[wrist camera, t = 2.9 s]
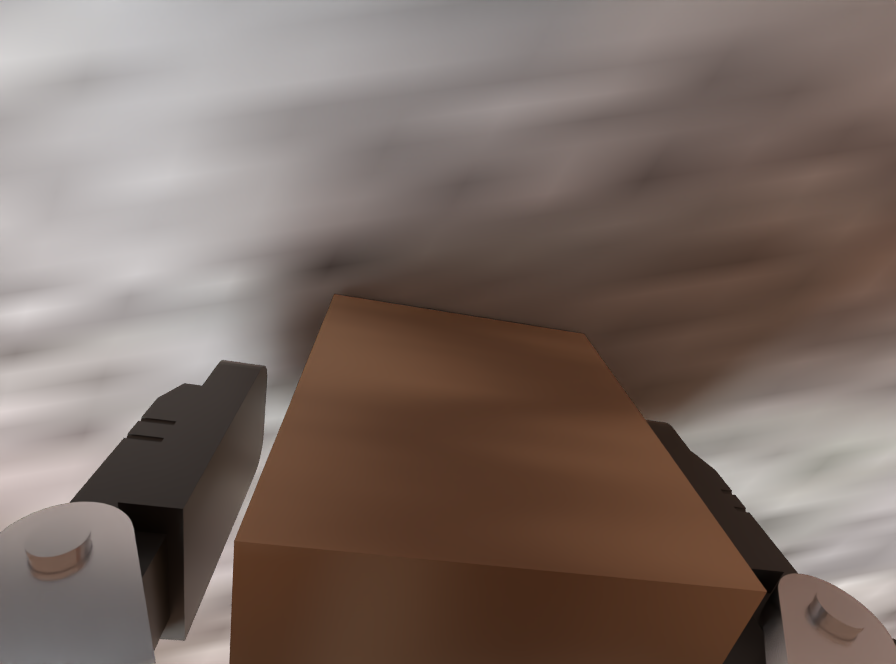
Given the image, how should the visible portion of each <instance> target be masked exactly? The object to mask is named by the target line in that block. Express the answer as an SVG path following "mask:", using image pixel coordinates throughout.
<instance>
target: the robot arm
mask: <svg viewBox="0 0 896 664" xmlns="http://www.w3.org/2000/svg"><path fill="white" fill-rule="evenodd" d="M266 388H267V369H266V366H262V365H255V364H247V363H240V362H233V361H226V360H222V361H220V362H219V364H218V365H217V366H216V368H215V369H214V370H213V372H212V373H211V374H210V376H209V377H208V379H207V380H206V381H205V383H204V384H203V385H202V386H200V385H193V384H185V383H184V384H182V385H180V386H179V387H177V388H175V389H173V390H171V391H169V392H168V393H166V394H164V395H162V396H160V397H159V398H157V400H156V401H155V402H154V403H153V404H152V405H151V407H150V408H149V409H148V410H147V411H146V413H145V414H144V415H143V416H142V419H141V421H138V422H137V423H136V424H135V426H134V427H133V428H132V429H131V430H130V432H129V433H128V436H127V438H124V439H123V440H122V441H121V442H120V443H119V445H118V446H117V447H116V448H115V449H114V450H113V452H112V453H111V454H110V455H109V456H108V458H107V459H106V460H105V461H104V462H103V463H102V465H101V466H100V467H99V468H98V469H97V471H96V472H95V473H94V474H93V475H92V477H91V478H90V479H89V480H88V481H87V482H86V484H85V485H84V486H83V487H82V488H81V490H80V491H79V492H78V493H77V494H76V495H75V497H74V498H73V499H72V500H71V501H70V503H66V504H60V505H56V506H52V507H49V508H45V509H42V510H40V511H37V512H34V513H32V514H30V515H28V516H26V517H23V518H21V519H20V520H18V521H16V522H14V523H13V524H11V525H9V526H8V527H7V528H5V529H4V530H3V531H1V532H0V664H156V662H155V656H154V650H155V648H156V646H157V644H158V641H159V639H169V640H183V641H185V639H186V637H187V634H188V632H189V630H190V627H191V625H192V622H193V620H194V618H195V615H196V613H197V611H198V608H199V606H200V603H201V601H202V599H203V596H204V594H205V591H206V589H207V587H208V584H209V582H210V580H211V577H212V575H213V572H214V570H215V568H216V565H217V563H218V561H219V558H220V556H221V553H222V551H223V549H224V546H225V544H226V541H227V539H228V537H229V534H230V532H231V530H232V527H233V525H234V522H235V520H236V518H237V515H238V513H239V511H240V508H241V506H242V503H243V501H244V499H245V496H246V494H247V491H248V489H249V487H250V484H251V482H252V480H253V477H254V475H255V472H256V470H257V467H258V463H259V459H260V455H261V450H262V444H263V435H264V419H265V403H266ZM646 422H647V423H648V425H649V426H650V427H651V429H652V430H653V432H654V433H655V434H656V436H657V437H658V439H659V440H660V441H661V443H662V444H663V446H664V447H665V448H666V450H667V451H668V453H669V454H670V456H671V457H672V458H673V460H674V461H675V463H676V464H677V465H678V467H679V468H680V470H681V471H682V472H683V474H684V475H685V477H686V478H687V479H688V481H689V482H690V484H691V485H692V487H693V488H694V489H695V491H696V492H697V494H698V495H699V496H700V498H701V499H702V501H703V502H704V503H705V505H706V506H707V508H708V509H709V510H710V512H711V513H712V515H713V516H714V518H715V519H716V520H717V522H718V523H719V525H720V526H721V527H722V529H723V530H724V532H725V533H726V534H727V536H728V537H729V539H730V540H731V541H732V543H733V544H734V546H735V547H736V549H737V550H738V551H739V553H740V554H741V556H742V557H743V558H744V560H745V561H746V563H747V564H748V565H749V567H750V568H751V570H752V571H753V572H754V574H755V575H756V577H757V578H758V580H759V581H760V582H761V584H762V585H763V587H764V588H765V589H766V591H767V593H766V594H765V596H764V598H763V599H762V601H761V602H760V604H759V606H758V607H757V609H756V610H755V612H754V614H753V615H752V617H751V619H750V620H749V622H748V623H747V625H746V627H745V628H744V630H743V631H742V633H741V635H740V636H739V638H738V639H737V641H736V643H735V644H734V646H733V648H732V649H731V651H730V652H729V654H728V656H727V657H726V659H725V660H724V662H723V664H896V640H895V639H893V638H892V637H891V635H890V634H889V632H888V631H887V629H886V628H885V627H884V625H883V624H882V623H881V622H880V621H879V620H878V618H877V617H876V616H875V615H874V614H873V613H872V612H871V611H870V610H868V609H867V608H866V607H865V606H864V605H863V604H861V603H860V602H859V601H858V600H856V599H855V598H854V597H852V596H851V595H849V594H848V593H846V592H845V591H843V590H841V589H840V588H838V587H836V586H835V585H833V584H831V583H829V582H827V581H824V580H822V579H819V578H817V577H813V576H810V575H805V574H798V573H797V572H796V570H795V569H794V568H793V567H792V565H791V564H790V563H789V562H788V560H787V559H786V558H785V557H784V555H783V554H782V553H781V552H780V550H779V549H778V548H777V547H776V545H775V544H774V543H773V542H772V540H771V539H770V538H769V537H768V535H767V534H766V533H765V532H764V530H763V529H762V528H761V527H760V525H759V524H758V523H757V522H756V520H755V519H754V518H753V517H752V515H751V514H750V513H748V512H746V511H745V509H746V508H745V507H744V505H743V504H742V503H741V502H740V500H739V499H738V498H737V497H736V495H732V490H731V489H730V488H729V487H728V485H727V484H726V483H725V482H724V480H723V479H722V478H721V477H720V475H719V474H718V473H717V472H716V470H715V469H713V468H712V467H711V466H709V465H708V464H707V463H706V462H704V461H703V460H702V459H701V458H699V457H698V456H697V455H696V454H694V453H693V452H692V451H690V449H689V448H688V447H687V446H686V444H685V443H684V442H683V440H682V439H681V438H680V436H679V435H678V434H677V433H676V431H675V430H674V429H673V427H672V426H671V425H669V424H668V423H665V422H657V421H650V420H646Z"/></svg>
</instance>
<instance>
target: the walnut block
mask: <svg viewBox="0 0 896 664" xmlns="http://www.w3.org/2000/svg"><path fill="white" fill-rule="evenodd" d="M766 593H767V591H766V589H765V588H764V587H763V585H762V584H761V582H760V581H759V580H758V578H757V577H756V575H755V574H754V572H753V571H752V570H751V568H750V567H749V565H748V564H747V563H746V561H745V560H744V558H743V557H742V556H741V554H740V553H739V551H738V550H737V549H736V547H735V546H734V544H733V543H732V541H731V540H730V539H729V537H728V536H727V534H726V533H725V532H724V530H723V529H722V527H721V526H720V525H719V523H718V522H717V520H716V519H715V518H714V516H713V515H712V513H711V512H710V510H709V509H708V508H707V506H706V505H705V503H704V502H703V501H702V499H701V498H700V496H699V495H698V494H697V492H696V491H695V489H694V488H693V487H692V485H691V484H690V482H689V481H688V479H687V478H686V477H685V475H684V474H683V472H682V471H681V470H680V468H679V467H678V465H677V464H676V463H675V461H674V460H673V458H672V457H671V456H670V454H669V453H668V451H667V450H666V448H665V447H664V446H663V444H662V443H661V441H660V440H659V439H658V437H657V436H656V434H655V433H654V432H653V430H652V429H651V427H650V426H649V425H648V423H647V422H646V420H645V419H644V417H643V416H642V415H641V413H640V412H639V410H638V409H637V408H636V406H635V405H634V403H633V402H632V401H631V399H630V398H629V396H628V395H627V394H626V392H625V391H624V389H623V388H622V386H621V385H620V384H619V382H618V381H617V379H616V378H615V377H614V375H613V374H612V372H611V371H610V370H609V368H608V367H607V365H606V364H605V363H604V361H603V360H602V358H601V357H600V355H599V354H598V353H597V351H596V350H595V348H594V347H593V346H592V344H591V343H590V341H589V340H588V339H587V337H586V336H585V334H582V333H575V332H569V331H563V330H557V329H550V328H544V327H538V326H531V325H525V324H519V323H513V322H506V321H500V320H494V319H488V318H481V317H475V316H469V315H462V314H456V313H450V312H444V311H437V310H431V309H425V308H419V307H412V306H406V305H400V304H393V303H387V302H381V301H375V300H368V299H362V298H356V297H350V296H343V295H337V294H334V296H333V298H332V301H331V303H330V306H329V308H328V311H327V313H326V316H325V318H324V321H323V323H322V326H321V328H320V331H319V333H318V335H317V338H316V340H315V343H314V345H313V348H312V350H311V353H310V355H309V358H308V360H307V363H306V365H305V368H304V370H303V373H302V375H301V377H300V380H299V382H298V385H297V387H296V390H295V392H294V395H293V397H292V400H291V402H290V405H289V407H288V410H287V412H286V415H285V417H284V419H283V422H282V424H281V427H280V429H279V432H278V434H277V437H276V439H275V442H274V444H273V447H272V449H271V452H270V454H269V457H268V459H267V461H266V464H265V466H264V469H263V471H262V474H261V476H260V479H259V481H258V484H257V486H256V489H255V491H254V494H253V496H252V499H251V501H250V503H249V506H248V508H247V511H246V513H245V516H244V518H243V521H242V523H241V526H240V528H239V531H238V533H237V536H236V538H235V540H234V562H233V587H232V613H231V638H230V664H723V662H724V660H725V659H726V657H727V656H728V654H729V652H730V651H731V649H732V648H733V646H734V644H735V643H736V641H737V639H738V638H739V636H740V635H741V633H742V631H743V630H744V628H745V627H746V625H747V623H748V622H749V620H750V619H751V617H752V615H753V614H754V612H755V610H756V609H757V607H758V606H759V604H760V602H761V601H762V599H763V598H764V596H765V594H766Z"/></svg>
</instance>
